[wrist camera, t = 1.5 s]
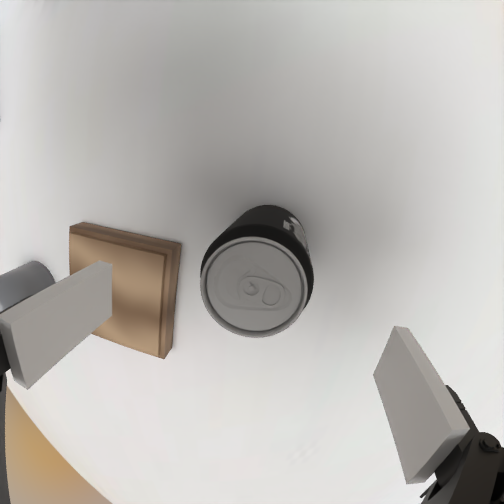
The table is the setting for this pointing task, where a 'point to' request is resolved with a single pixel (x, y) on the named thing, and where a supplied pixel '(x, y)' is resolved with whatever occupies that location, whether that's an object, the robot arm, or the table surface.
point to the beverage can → (258, 273)
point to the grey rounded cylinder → (23, 283)
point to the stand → (132, 284)
